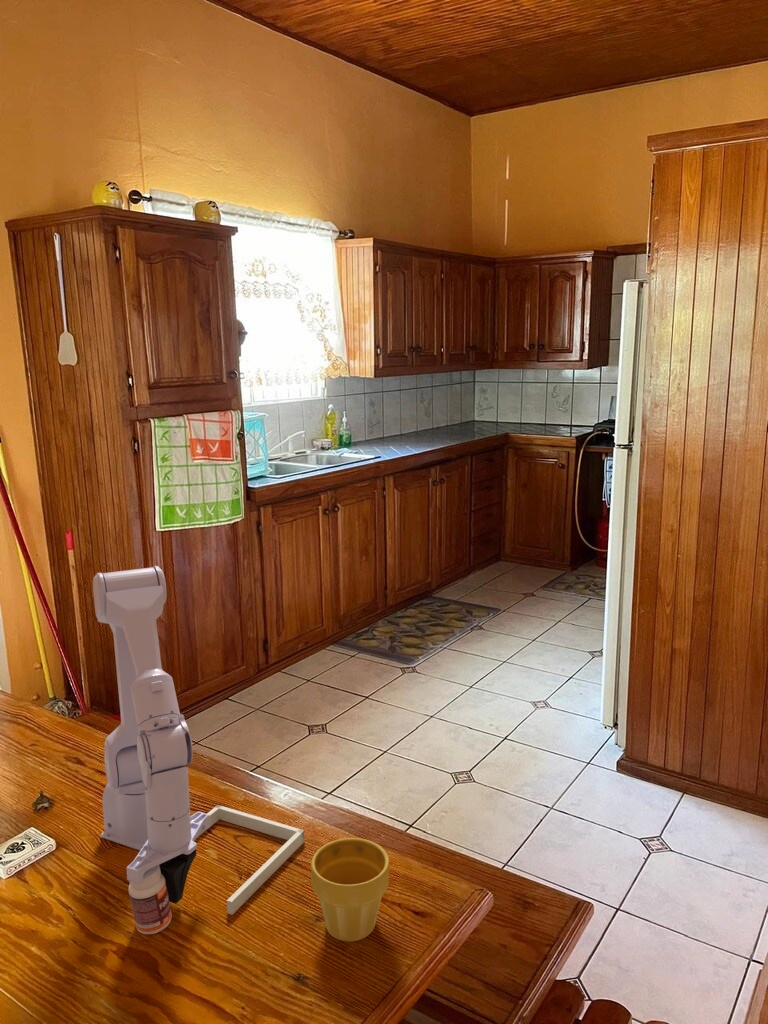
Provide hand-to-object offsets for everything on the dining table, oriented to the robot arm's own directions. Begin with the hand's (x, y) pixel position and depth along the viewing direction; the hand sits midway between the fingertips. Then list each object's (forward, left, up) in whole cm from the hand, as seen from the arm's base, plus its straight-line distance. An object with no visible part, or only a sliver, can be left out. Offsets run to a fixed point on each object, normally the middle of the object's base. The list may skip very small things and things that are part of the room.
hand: (173, 899), depth 111 cm
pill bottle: (0, -4, -1) cm, 4 cm away
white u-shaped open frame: (0, +11, -1) cm, 12 cm away
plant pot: (+24, +7, -1) cm, 25 cm away
